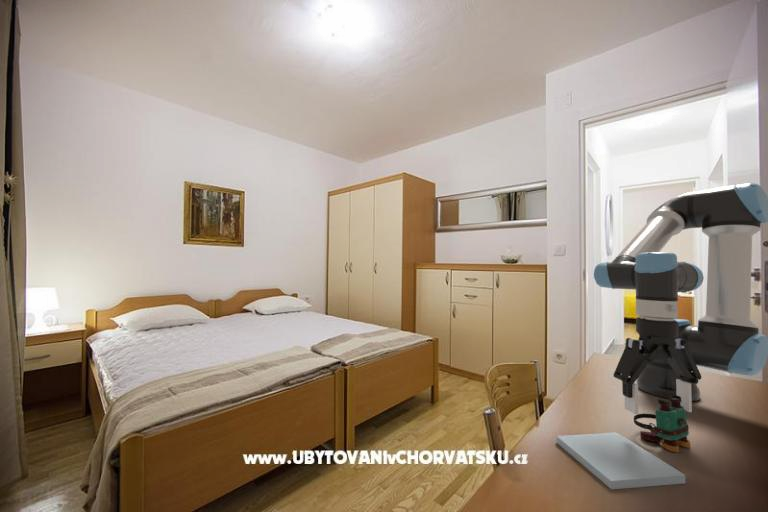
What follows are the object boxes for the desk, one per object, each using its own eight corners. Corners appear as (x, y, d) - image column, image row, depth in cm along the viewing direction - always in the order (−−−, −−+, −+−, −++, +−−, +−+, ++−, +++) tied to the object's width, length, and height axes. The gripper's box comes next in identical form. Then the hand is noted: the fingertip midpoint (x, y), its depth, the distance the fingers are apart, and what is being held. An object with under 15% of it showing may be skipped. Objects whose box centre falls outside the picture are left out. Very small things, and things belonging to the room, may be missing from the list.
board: (616, 438, 73) (616, 432, 73) (685, 483, 58) (685, 475, 58) (556, 442, 71) (556, 436, 71) (611, 489, 56) (611, 480, 56)
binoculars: (642, 386, 80) (693, 397, 70) (648, 430, 78) (701, 447, 69) (620, 391, 76) (671, 404, 67) (626, 438, 75) (679, 457, 66)
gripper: (621, 320, 68) (623, 420, 67) (722, 320, 71) (724, 416, 70) (595, 315, 76) (595, 404, 75) (686, 315, 78) (688, 401, 77)
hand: (658, 410), depth 72 cm, fingers open, 13 cm apart
